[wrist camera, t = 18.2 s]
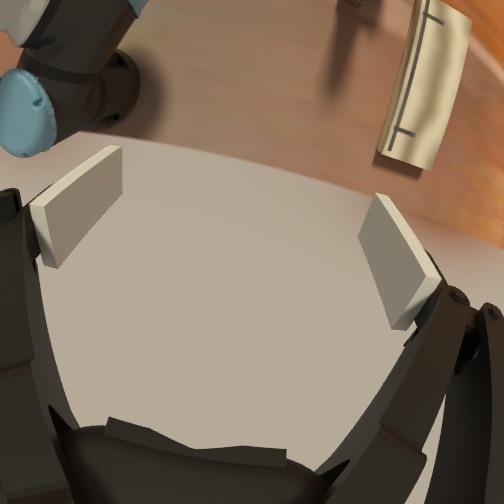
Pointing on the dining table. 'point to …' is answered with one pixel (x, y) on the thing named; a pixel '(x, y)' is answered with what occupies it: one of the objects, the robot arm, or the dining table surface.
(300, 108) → the dining table surface
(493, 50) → the dining table surface
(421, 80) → the maple board
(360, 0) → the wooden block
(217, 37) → the dining table surface
